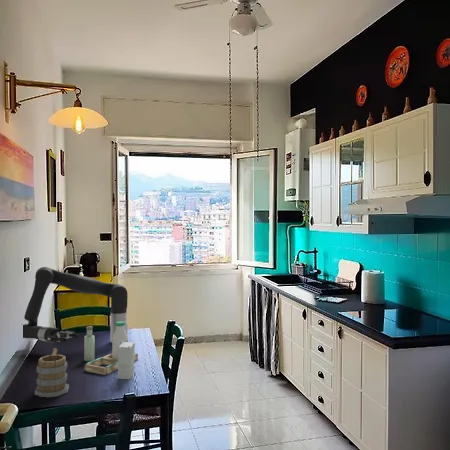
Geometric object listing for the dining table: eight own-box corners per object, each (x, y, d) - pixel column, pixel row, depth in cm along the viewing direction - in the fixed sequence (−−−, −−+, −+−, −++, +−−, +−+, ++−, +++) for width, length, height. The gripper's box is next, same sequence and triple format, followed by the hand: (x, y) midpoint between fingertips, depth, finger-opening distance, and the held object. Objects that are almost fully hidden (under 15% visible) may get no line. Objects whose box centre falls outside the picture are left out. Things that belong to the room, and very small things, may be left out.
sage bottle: (88, 357, 233) (89, 325, 233) (96, 358, 231) (96, 326, 231) (82, 360, 228) (82, 327, 228) (89, 361, 226) (90, 328, 226)
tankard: (66, 396, 182) (66, 359, 182) (32, 398, 179) (32, 361, 179) (72, 379, 202) (72, 345, 201) (42, 381, 199) (42, 347, 199)
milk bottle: (114, 364, 222) (114, 324, 221) (110, 360, 229) (110, 321, 228) (129, 362, 225) (129, 322, 225) (125, 358, 232) (125, 319, 232)
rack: (117, 356, 235) (117, 350, 235) (137, 359, 230) (137, 353, 230) (84, 371, 212) (84, 364, 212) (105, 374, 207) (105, 367, 207)
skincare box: (122, 373, 210) (122, 341, 210) (134, 373, 210) (135, 341, 209) (117, 379, 201) (117, 346, 201) (131, 379, 201) (131, 346, 201)
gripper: (38, 330, 234) (62, 333, 227) (59, 324, 247) (82, 328, 240) (38, 344, 234) (62, 348, 228) (58, 338, 247) (81, 342, 241)
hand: (72, 338), depth 234 cm, fingers open, 8 cm apart
